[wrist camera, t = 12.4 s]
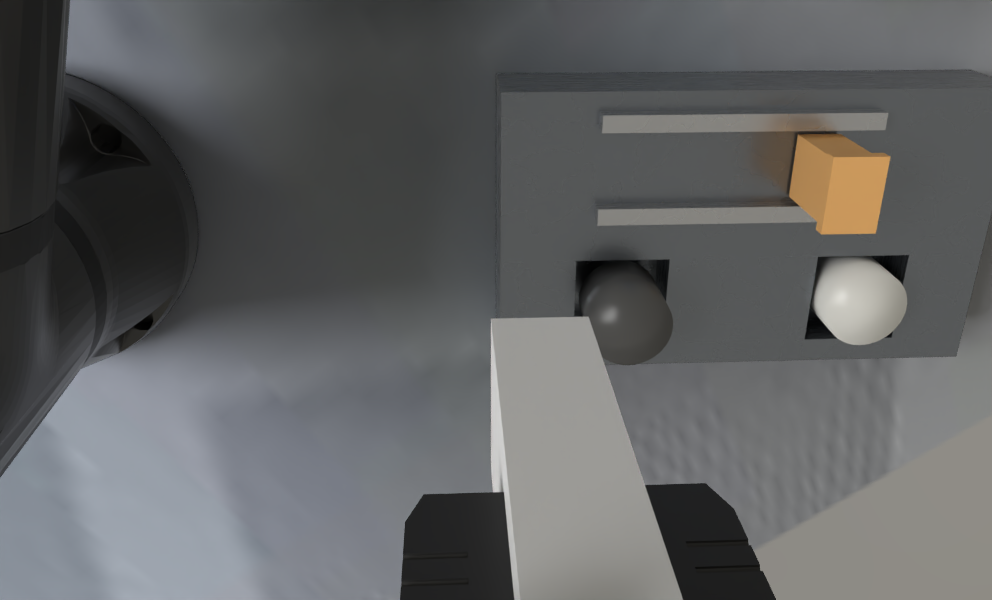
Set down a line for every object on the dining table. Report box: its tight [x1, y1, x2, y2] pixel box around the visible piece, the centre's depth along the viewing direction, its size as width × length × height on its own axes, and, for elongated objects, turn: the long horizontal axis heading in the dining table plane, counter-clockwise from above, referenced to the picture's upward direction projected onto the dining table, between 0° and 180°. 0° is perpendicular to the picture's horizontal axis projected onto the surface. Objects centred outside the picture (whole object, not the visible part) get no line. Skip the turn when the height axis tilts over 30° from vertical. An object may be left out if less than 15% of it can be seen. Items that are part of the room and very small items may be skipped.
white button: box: [810, 256, 907, 345], centre depth 45 cm, size 4×4×4 cm
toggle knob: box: [789, 134, 890, 235], centre depth 40 cm, size 2×3×5 cm
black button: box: [579, 260, 673, 365], centre depth 44 cm, size 4×4×4 cm
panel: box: [496, 70, 992, 365], centre depth 45 cm, size 24×14×5 cm, turn 90°
